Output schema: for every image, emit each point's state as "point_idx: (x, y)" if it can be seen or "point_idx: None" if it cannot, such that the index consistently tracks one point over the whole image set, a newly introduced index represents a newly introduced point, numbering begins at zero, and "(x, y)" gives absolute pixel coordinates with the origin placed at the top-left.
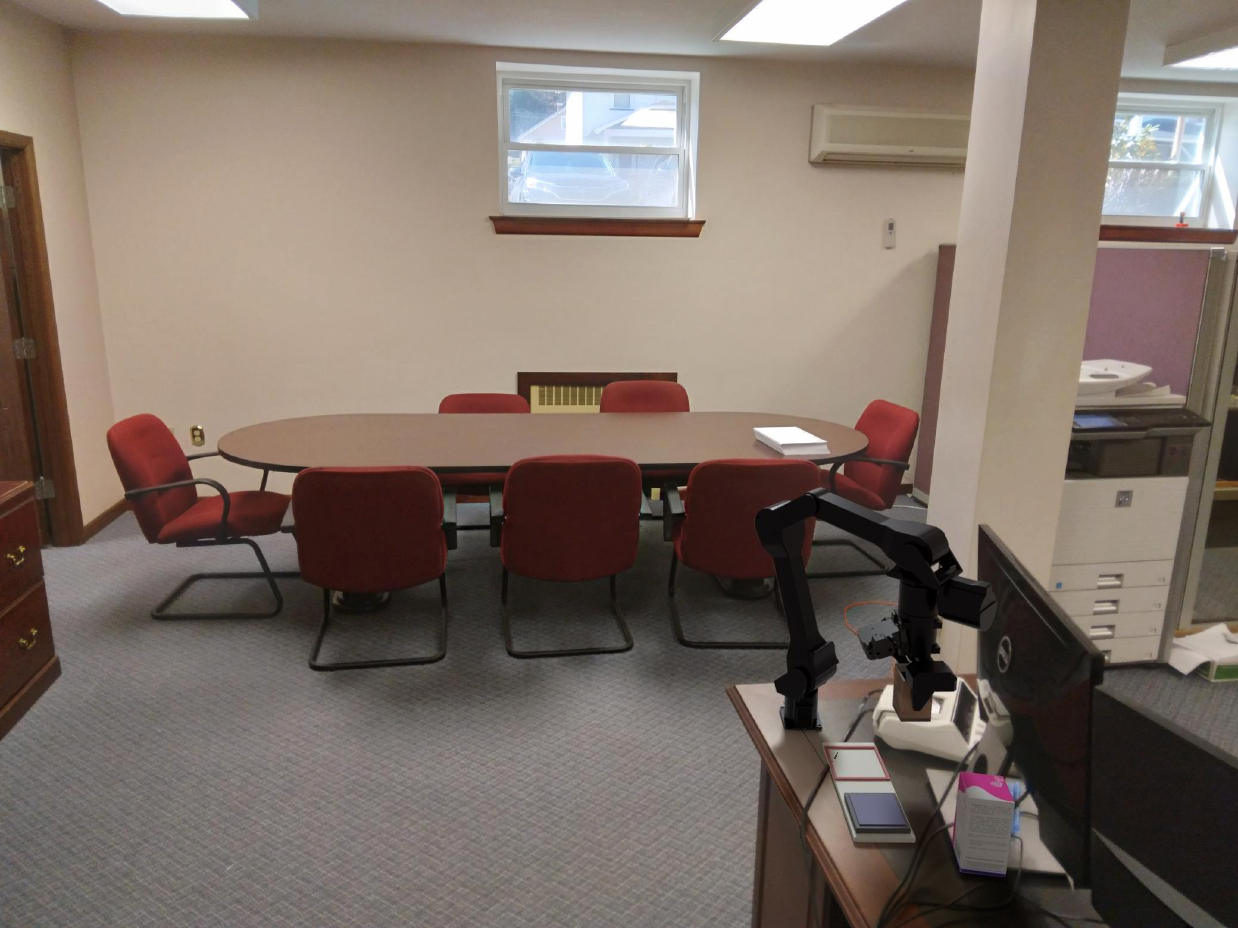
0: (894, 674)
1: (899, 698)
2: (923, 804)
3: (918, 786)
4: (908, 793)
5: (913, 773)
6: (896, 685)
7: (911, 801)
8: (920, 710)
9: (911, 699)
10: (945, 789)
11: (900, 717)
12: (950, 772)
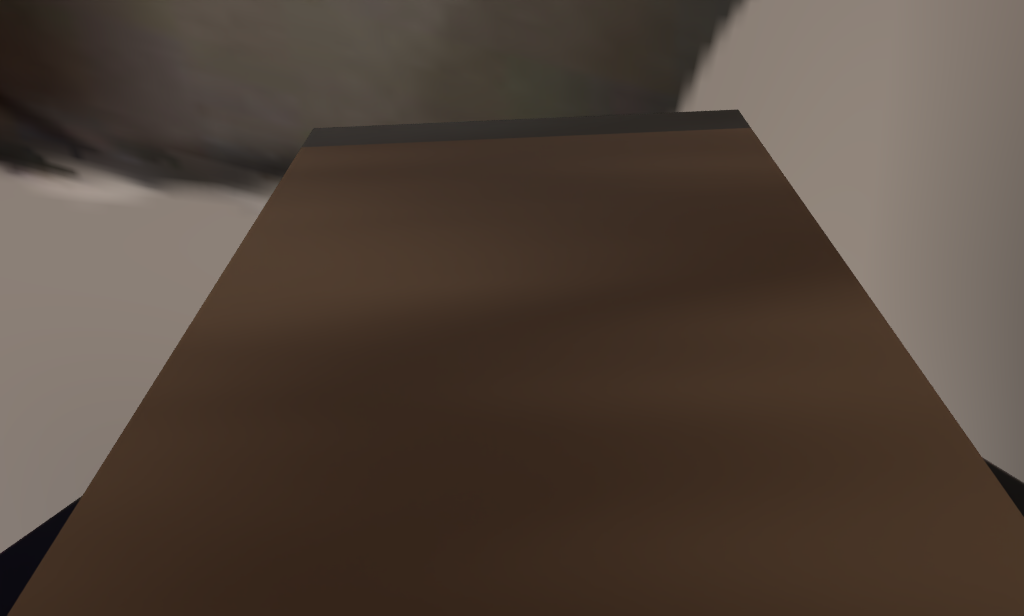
0: (935, 437)
1: (391, 258)
2: (141, 86)
3: (332, 103)
4: (240, 12)
5: (475, 107)
6: (647, 330)
7: (153, 11)
8: None
9: None
10: None
11: (324, 145)
12: None
